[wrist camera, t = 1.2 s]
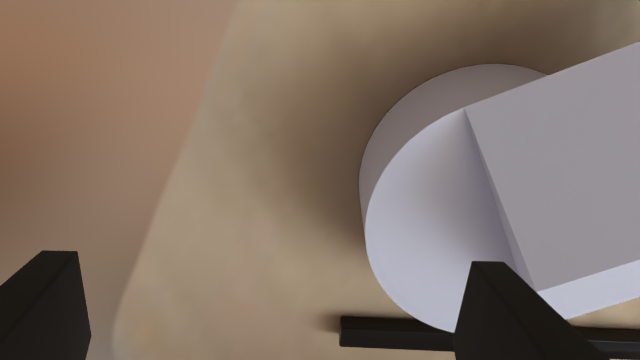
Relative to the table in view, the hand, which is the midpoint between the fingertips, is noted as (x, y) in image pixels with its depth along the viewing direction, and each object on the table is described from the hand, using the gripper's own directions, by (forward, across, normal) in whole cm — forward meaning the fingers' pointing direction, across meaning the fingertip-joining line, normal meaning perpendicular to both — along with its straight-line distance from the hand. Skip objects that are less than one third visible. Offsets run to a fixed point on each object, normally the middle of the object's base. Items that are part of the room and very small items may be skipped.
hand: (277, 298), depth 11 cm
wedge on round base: (+11, -9, +3) cm, 14 cm away
